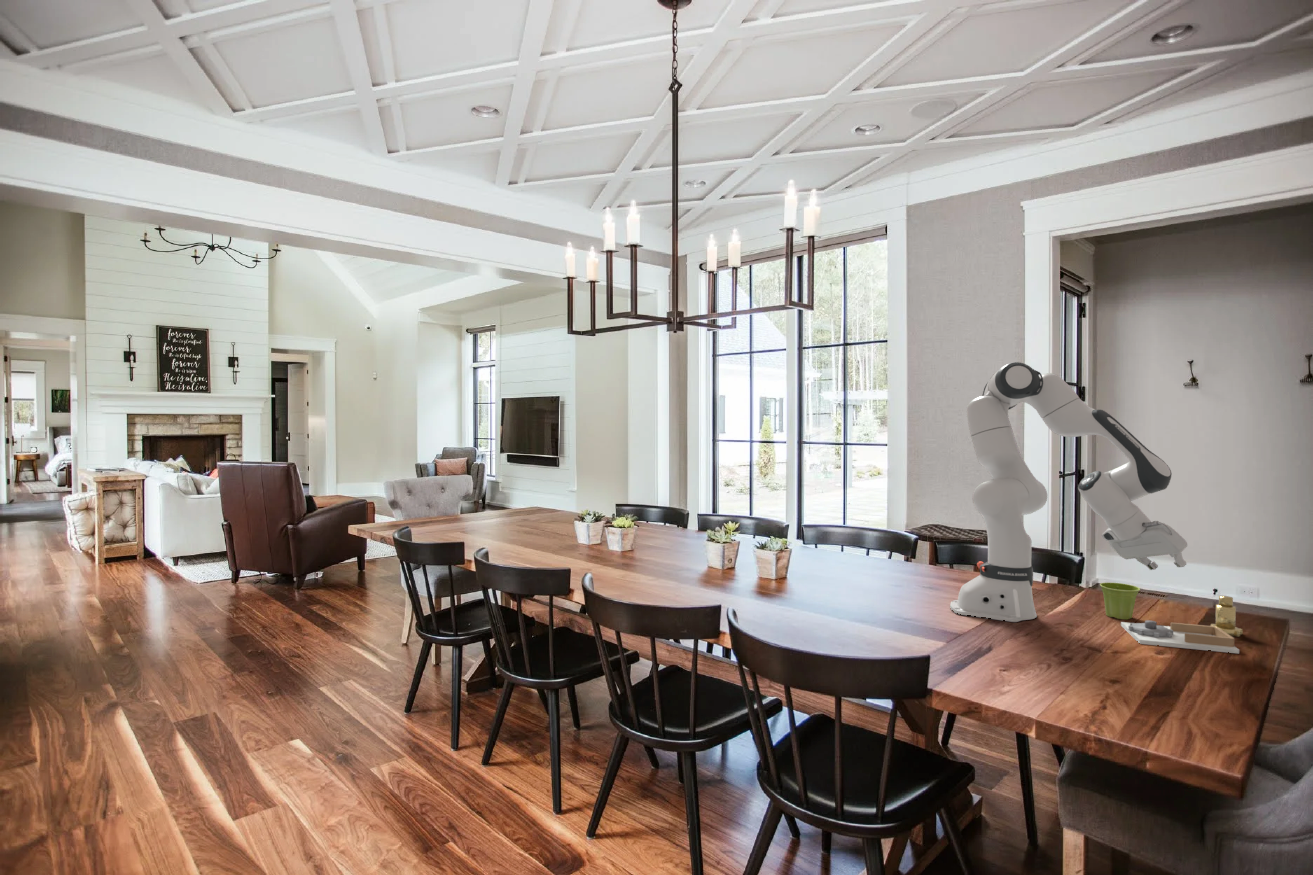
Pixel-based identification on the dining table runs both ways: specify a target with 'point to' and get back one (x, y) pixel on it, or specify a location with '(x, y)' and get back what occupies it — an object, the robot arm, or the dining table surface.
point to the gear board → (1181, 636)
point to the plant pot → (1119, 599)
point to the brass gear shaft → (1226, 616)
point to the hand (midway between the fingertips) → (1168, 567)
